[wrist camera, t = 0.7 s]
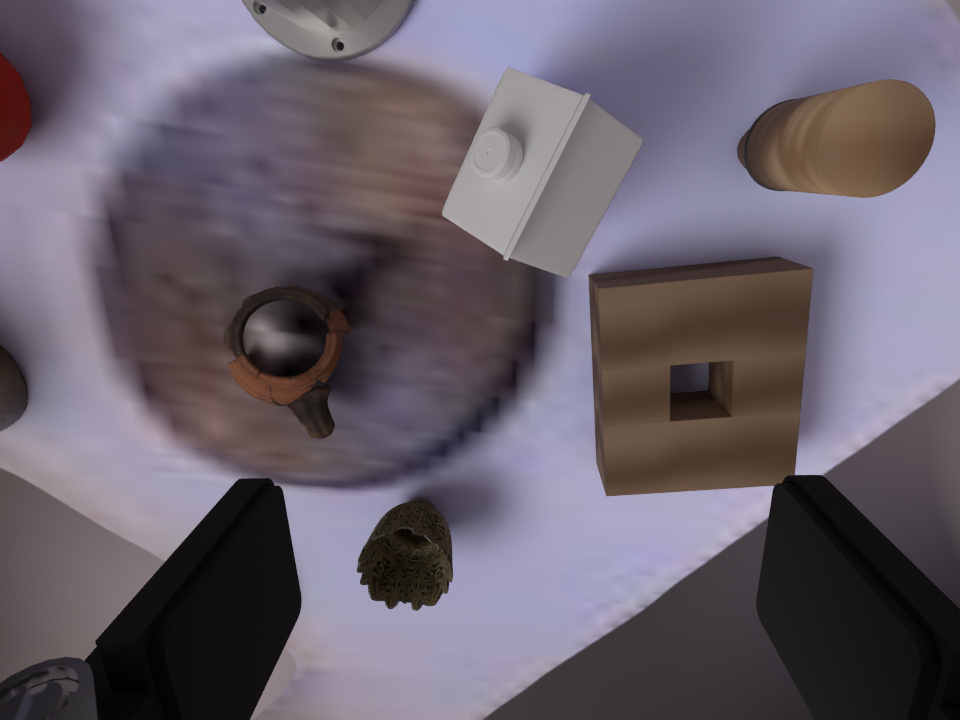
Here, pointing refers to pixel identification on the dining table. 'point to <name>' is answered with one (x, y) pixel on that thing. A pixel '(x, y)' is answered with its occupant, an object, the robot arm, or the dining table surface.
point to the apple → (12, 109)
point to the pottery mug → (297, 388)
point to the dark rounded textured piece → (408, 556)
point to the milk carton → (540, 173)
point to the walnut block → (732, 374)
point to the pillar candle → (10, 391)
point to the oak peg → (842, 140)
